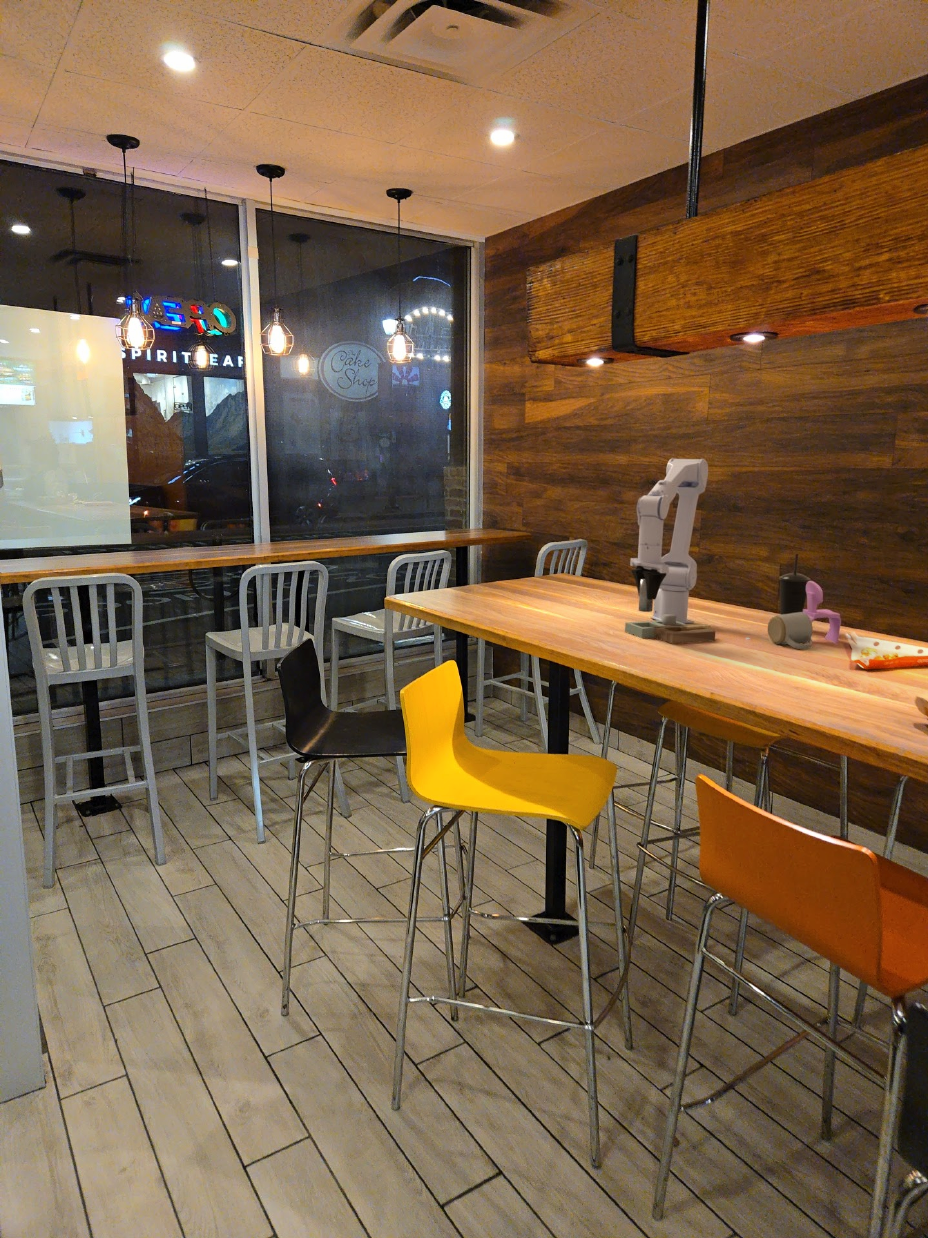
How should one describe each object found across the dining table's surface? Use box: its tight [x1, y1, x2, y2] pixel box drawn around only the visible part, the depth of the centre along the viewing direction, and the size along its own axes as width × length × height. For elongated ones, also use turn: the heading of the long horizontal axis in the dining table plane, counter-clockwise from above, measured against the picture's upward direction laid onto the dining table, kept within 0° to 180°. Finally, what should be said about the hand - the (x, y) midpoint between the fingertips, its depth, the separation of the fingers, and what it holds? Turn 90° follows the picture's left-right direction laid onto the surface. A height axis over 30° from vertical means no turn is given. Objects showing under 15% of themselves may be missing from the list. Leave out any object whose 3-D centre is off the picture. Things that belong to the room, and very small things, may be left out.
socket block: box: [651, 623, 716, 645], centre depth 209 cm, size 10×12×2 cm
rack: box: [624, 614, 687, 639], centre depth 214 cm, size 8×14×4 cm, turn 110°
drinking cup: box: [778, 553, 811, 615], centre depth 221 cm, size 8×8×20 cm
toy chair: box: [803, 580, 842, 644], centre depth 207 cm, size 8×9×15 cm
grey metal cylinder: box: [638, 578, 654, 613], centre depth 211 cm, size 3×3×8 cm
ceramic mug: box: [767, 612, 814, 651], centre depth 203 cm, size 11×8×8 cm
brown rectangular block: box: [682, 623, 712, 631], centre depth 210 cm, size 2×7×3 cm, turn 110°
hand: (647, 597), depth 211 cm, fingers closed on grey metal cylinder, 3 cm apart
